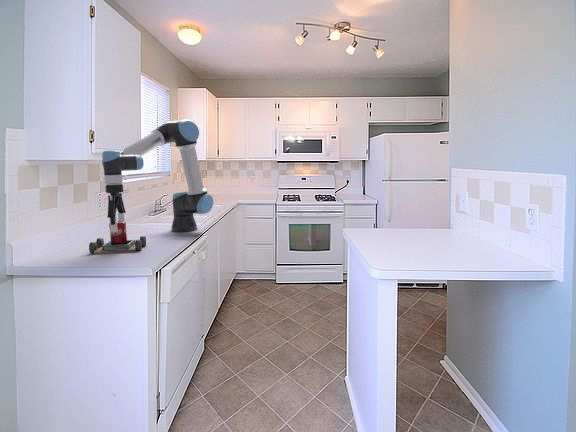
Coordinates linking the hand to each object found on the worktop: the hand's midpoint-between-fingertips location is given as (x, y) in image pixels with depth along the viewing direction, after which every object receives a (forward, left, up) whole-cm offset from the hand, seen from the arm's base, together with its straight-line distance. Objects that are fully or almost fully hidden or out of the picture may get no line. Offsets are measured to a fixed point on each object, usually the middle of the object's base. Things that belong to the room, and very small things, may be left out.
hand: (118, 228), depth 187 cm
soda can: (0, 0, -9) cm, 9 cm away
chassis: (0, 0, -10) cm, 10 cm away
